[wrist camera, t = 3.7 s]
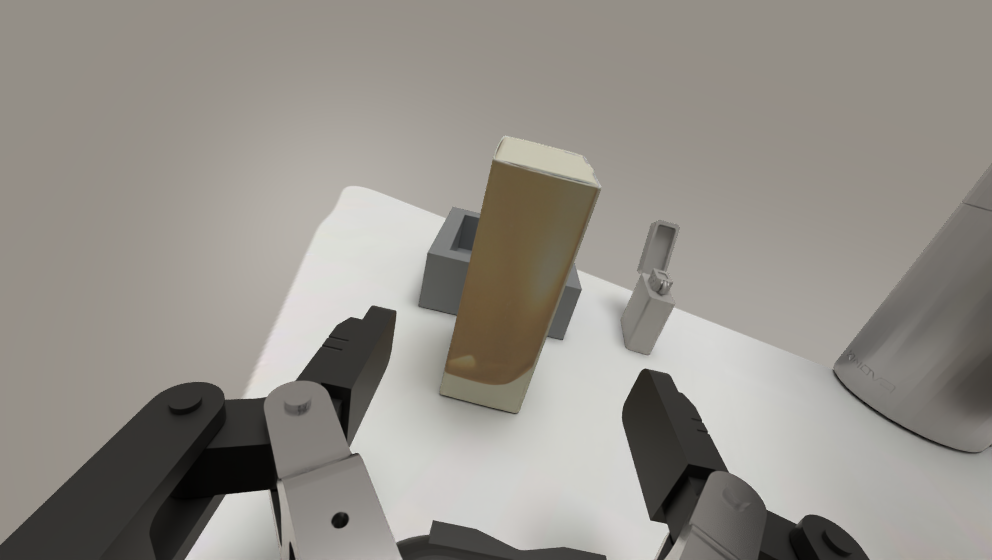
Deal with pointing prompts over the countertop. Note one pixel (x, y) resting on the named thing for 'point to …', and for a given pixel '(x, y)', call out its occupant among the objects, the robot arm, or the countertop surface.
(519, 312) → the skincare box
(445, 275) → the holder
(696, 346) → the countertop surface
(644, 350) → the lighter
